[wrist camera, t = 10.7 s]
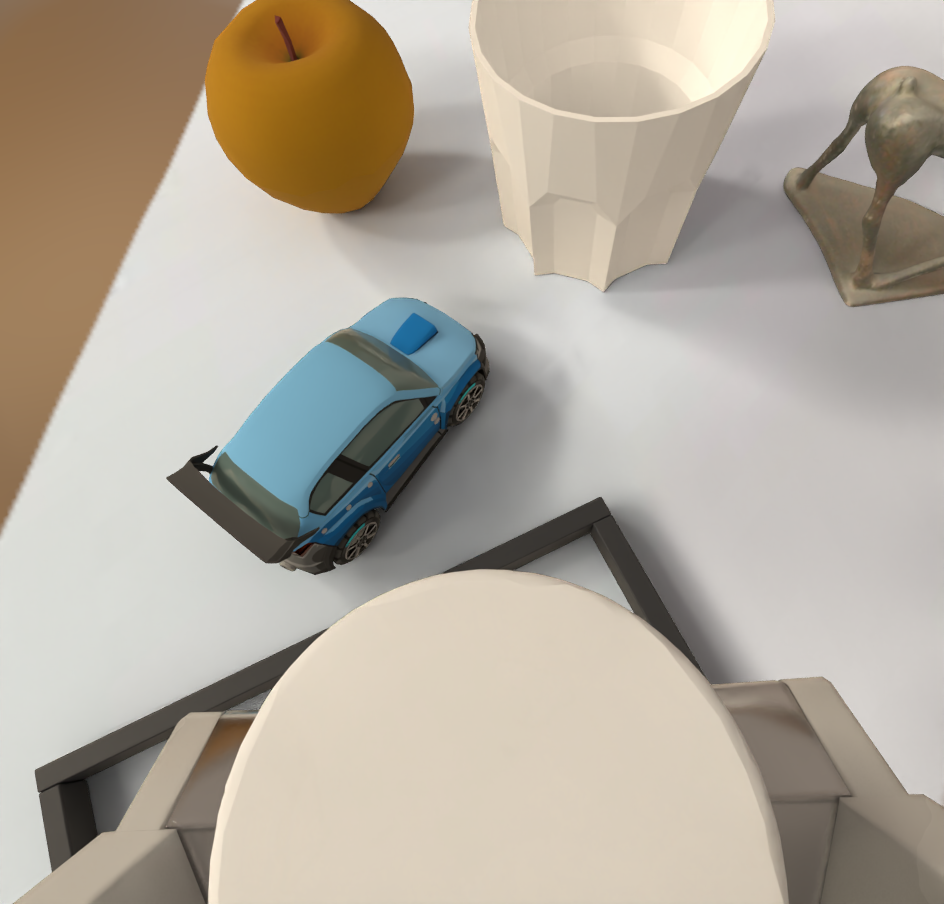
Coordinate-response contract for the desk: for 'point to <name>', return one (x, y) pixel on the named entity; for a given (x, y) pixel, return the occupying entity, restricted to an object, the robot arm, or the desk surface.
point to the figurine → (880, 194)
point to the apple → (310, 101)
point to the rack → (65, 776)
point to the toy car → (341, 436)
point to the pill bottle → (495, 762)
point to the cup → (609, 119)
